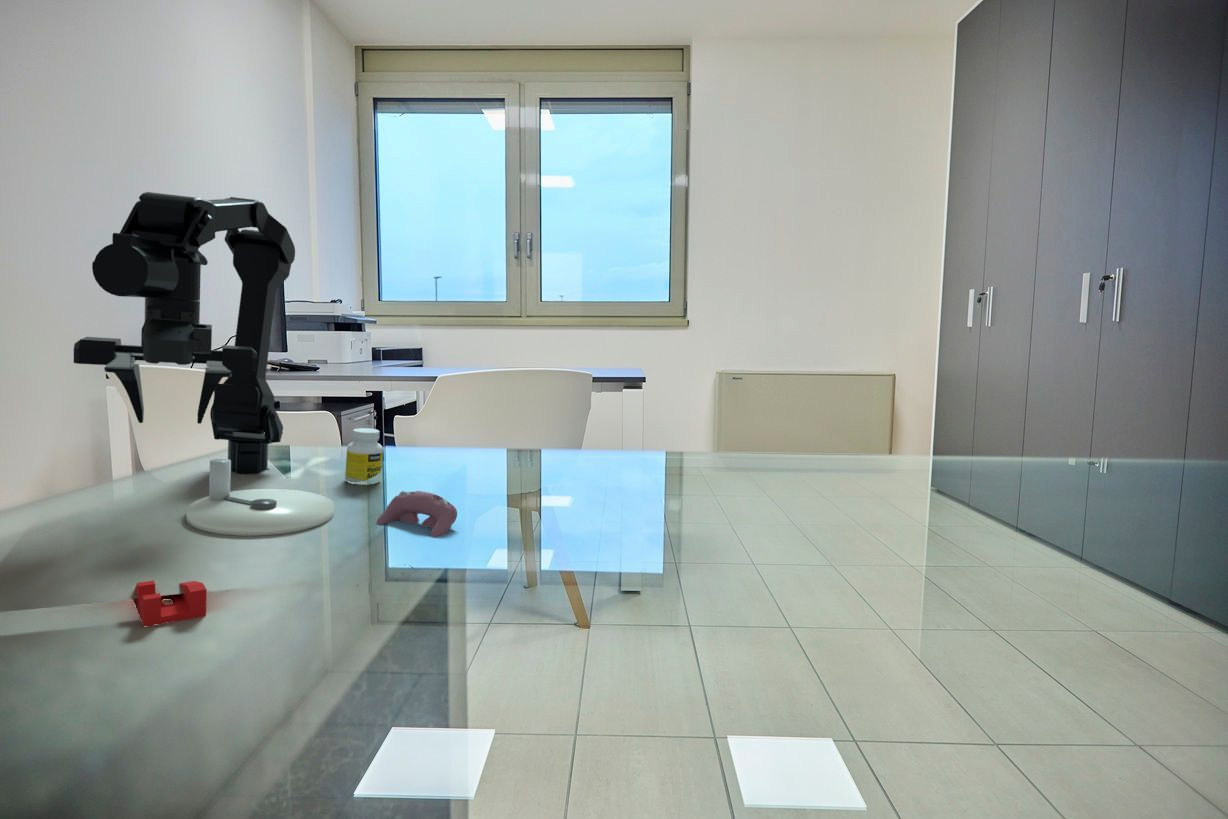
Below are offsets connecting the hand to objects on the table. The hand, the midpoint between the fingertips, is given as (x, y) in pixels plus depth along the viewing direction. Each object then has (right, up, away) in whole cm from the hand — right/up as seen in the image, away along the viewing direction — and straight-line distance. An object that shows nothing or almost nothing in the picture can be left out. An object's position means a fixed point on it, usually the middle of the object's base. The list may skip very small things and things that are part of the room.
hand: (170, 422), depth 85 cm
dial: (+11, -12, +2) cm, 16 cm away
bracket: (+14, -18, -22) cm, 31 cm away
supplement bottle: (+16, -11, +23) cm, 30 cm away
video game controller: (+30, -16, +5) cm, 34 cm away
